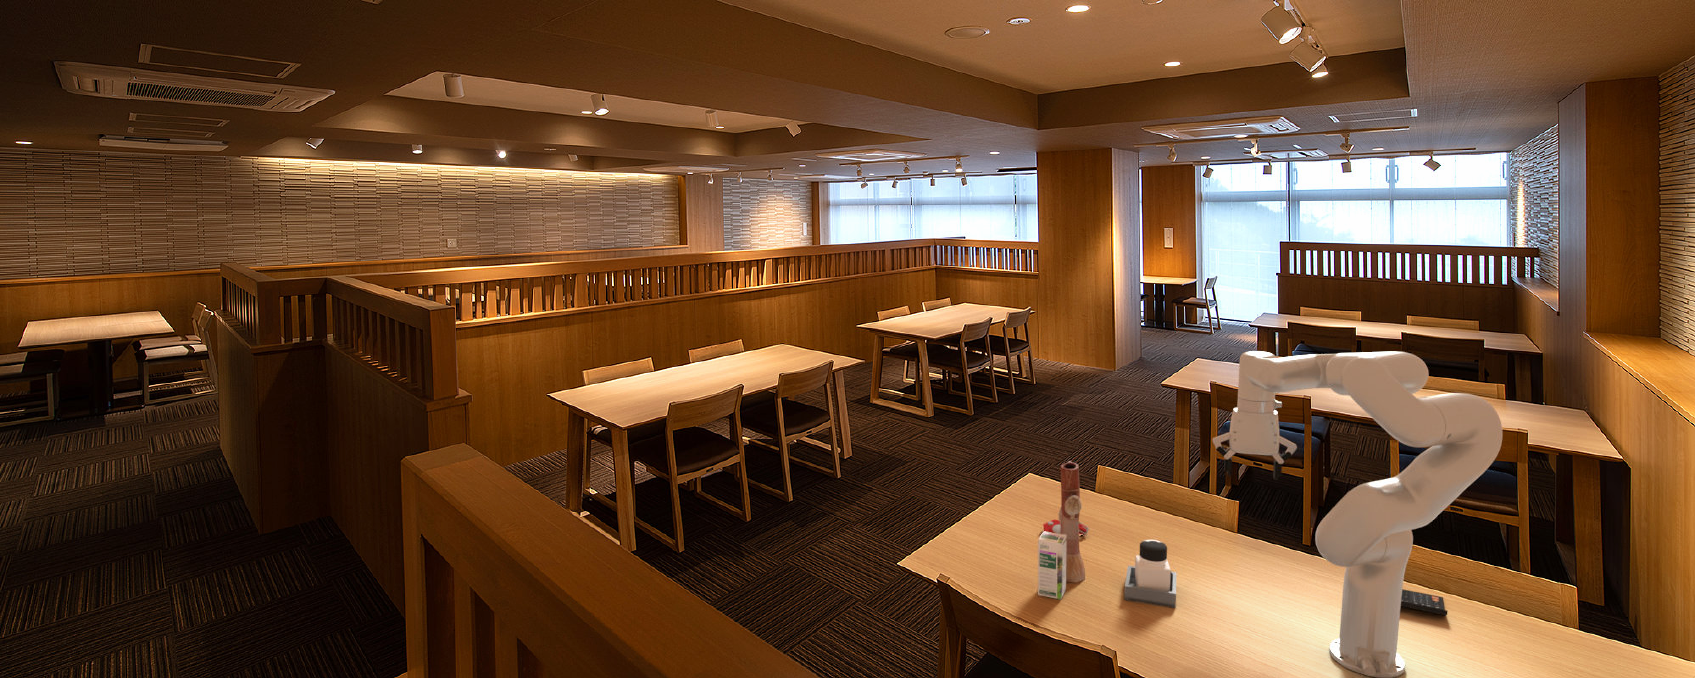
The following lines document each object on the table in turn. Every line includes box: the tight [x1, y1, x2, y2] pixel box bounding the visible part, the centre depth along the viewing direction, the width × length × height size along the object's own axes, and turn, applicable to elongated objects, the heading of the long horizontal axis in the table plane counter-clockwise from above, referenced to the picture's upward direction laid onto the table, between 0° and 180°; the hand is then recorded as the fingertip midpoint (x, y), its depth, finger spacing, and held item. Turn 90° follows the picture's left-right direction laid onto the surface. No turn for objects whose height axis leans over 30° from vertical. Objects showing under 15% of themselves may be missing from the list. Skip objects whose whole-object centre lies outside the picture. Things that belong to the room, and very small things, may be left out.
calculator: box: [1401, 588, 1448, 616], centre depth 173 cm, size 9×12×3 cm
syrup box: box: [1037, 530, 1067, 601], centre depth 184 cm, size 6×6×14 cm
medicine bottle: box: [1134, 539, 1172, 592], centre depth 182 cm, size 7×7×12 cm
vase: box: [1058, 460, 1086, 583], centre depth 190 cm, size 11×7×30 cm
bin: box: [1124, 565, 1177, 609], centre depth 183 cm, size 11×11×4 cm
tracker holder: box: [1042, 519, 1090, 536], centre depth 217 cm, size 12×4×10 cm
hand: (1252, 476), depth 179 cm, fingers open, 9 cm apart
